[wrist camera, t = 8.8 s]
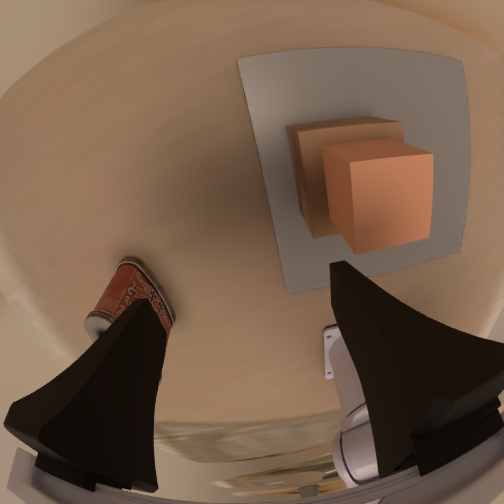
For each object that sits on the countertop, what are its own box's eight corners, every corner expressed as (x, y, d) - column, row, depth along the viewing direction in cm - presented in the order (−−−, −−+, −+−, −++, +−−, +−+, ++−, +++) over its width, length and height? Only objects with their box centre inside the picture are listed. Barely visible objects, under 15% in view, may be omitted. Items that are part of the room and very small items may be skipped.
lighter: (111, 261, 21) (59, 348, 13) (142, 251, 21) (93, 343, 12) (153, 327, 25) (129, 413, 17) (183, 321, 25) (165, 413, 16)
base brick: (378, 198, 18) (404, 220, 15) (300, 212, 19) (313, 238, 15) (371, 116, 15) (402, 121, 12) (285, 126, 16) (297, 132, 12)
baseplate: (454, 246, 22) (459, 251, 21) (285, 287, 23) (286, 295, 22) (454, 60, 13) (462, 60, 12) (236, 61, 14) (236, 58, 13)
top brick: (392, 205, 14) (429, 237, 11) (329, 217, 15) (355, 255, 11) (389, 138, 12) (433, 153, 9) (320, 146, 13) (349, 162, 9)
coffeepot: (326, 483, 81) (331, 516, 65) (317, 487, 85) (321, 518, 70) (293, 487, 78) (296, 521, 63) (286, 490, 83) (288, 522, 67)
